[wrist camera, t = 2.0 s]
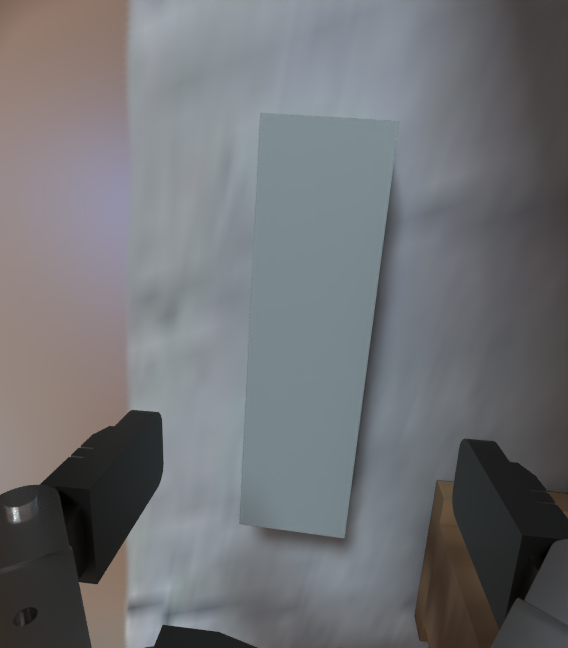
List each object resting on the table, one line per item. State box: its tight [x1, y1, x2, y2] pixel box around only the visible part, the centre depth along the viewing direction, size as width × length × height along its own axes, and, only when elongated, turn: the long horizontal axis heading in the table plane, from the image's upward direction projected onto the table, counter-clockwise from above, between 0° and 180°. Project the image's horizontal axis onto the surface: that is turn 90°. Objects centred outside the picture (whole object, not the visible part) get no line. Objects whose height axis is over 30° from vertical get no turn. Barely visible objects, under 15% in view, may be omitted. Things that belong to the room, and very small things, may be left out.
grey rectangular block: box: [239, 113, 399, 538], centre depth 20 cm, size 18×5×4 cm, turn 176°
